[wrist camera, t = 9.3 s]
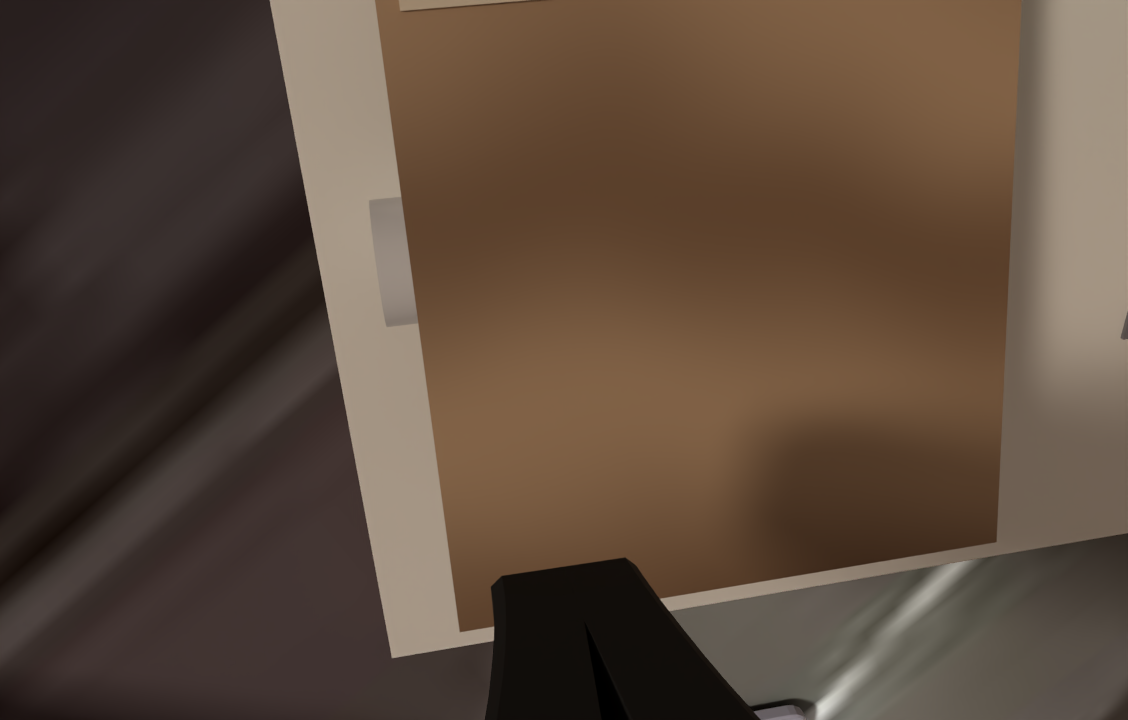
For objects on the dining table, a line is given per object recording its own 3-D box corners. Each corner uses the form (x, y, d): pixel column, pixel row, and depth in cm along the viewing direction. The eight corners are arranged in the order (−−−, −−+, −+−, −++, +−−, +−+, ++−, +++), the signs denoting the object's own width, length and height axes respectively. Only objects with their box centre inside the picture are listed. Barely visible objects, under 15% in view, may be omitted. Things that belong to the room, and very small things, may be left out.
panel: (1405, 450, 26) (1531, 529, 23) (390, 617, 22) (395, 734, 20) (1750, -289, 18) (2006, -302, 15) (239, -210, 14) (212, -208, 11)
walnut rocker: (970, 521, 17) (999, 545, 17) (456, 605, 16) (460, 635, 15) (996, -178, 14) (1034, -194, 13) (357, -138, 13) (354, -153, 12)
